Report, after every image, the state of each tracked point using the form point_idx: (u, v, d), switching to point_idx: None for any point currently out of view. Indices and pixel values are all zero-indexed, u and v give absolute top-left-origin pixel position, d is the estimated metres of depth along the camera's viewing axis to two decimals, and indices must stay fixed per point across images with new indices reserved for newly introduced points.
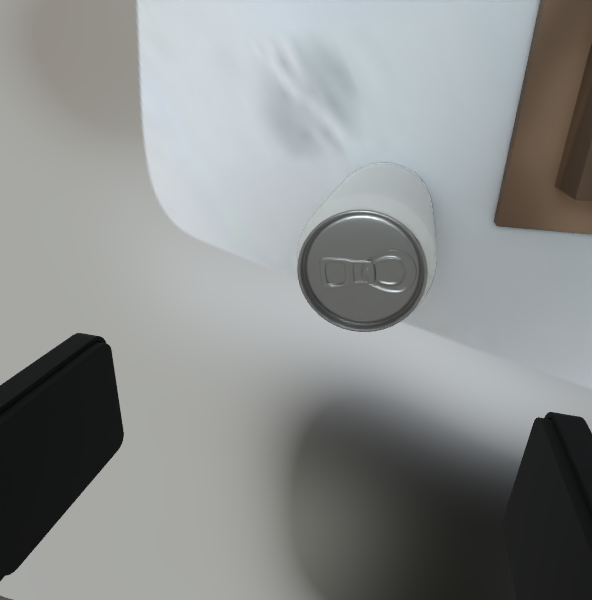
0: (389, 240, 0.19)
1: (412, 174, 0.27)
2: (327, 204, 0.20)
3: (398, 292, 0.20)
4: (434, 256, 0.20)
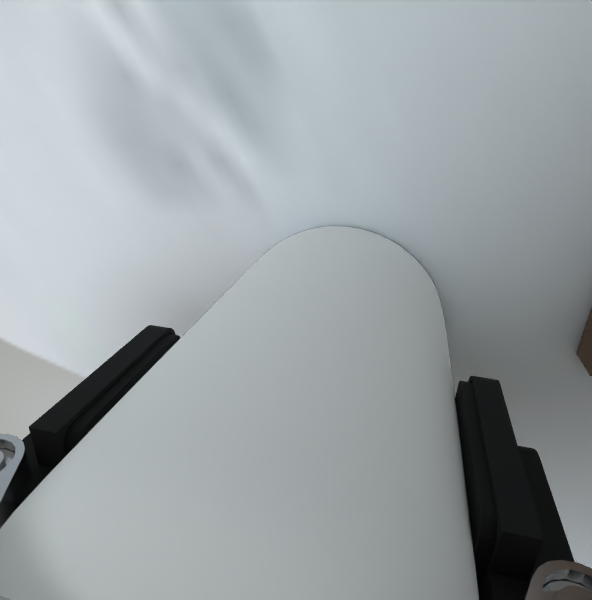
0: None
1: (401, 261, 0.12)
2: (33, 508, 0.05)
3: None
4: None
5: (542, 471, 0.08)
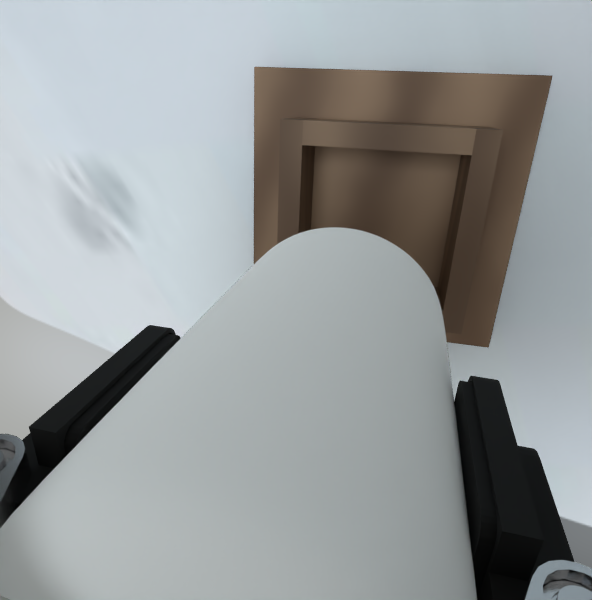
0: None
1: (400, 262, 0.12)
2: (29, 513, 0.05)
3: None
4: None
5: (541, 471, 0.08)
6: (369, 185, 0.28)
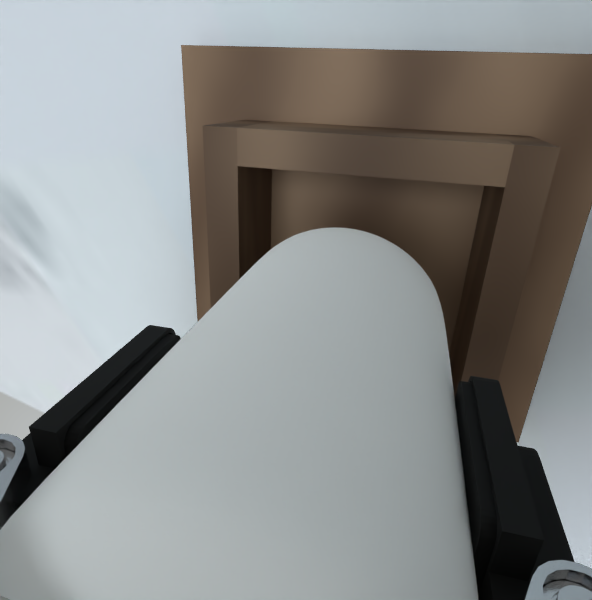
0: None
1: (401, 262, 0.12)
2: (29, 515, 0.05)
3: None
4: None
5: (541, 471, 0.08)
6: (349, 217, 0.19)
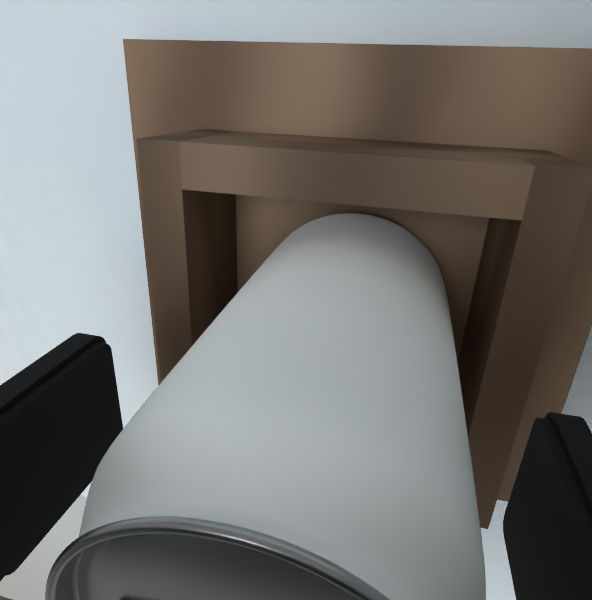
0: None
1: (407, 242, 0.13)
2: (141, 425, 0.07)
3: None
4: (482, 598, 0.06)
5: None
6: None
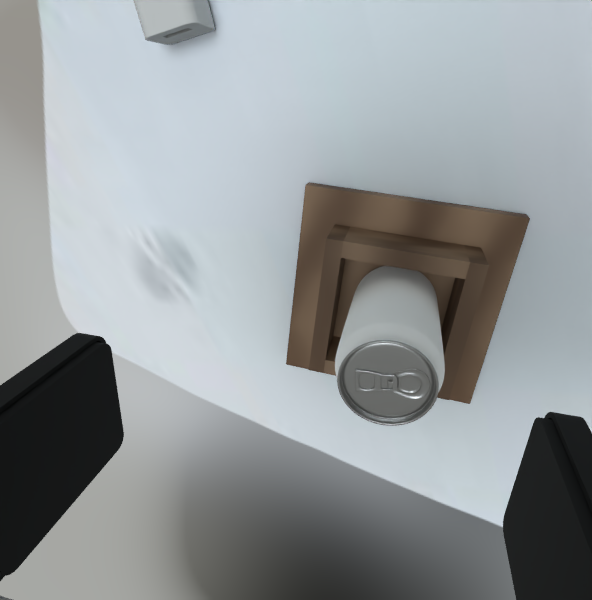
0: (410, 362, 0.25)
1: (422, 279, 0.33)
2: (362, 327, 0.26)
3: (415, 398, 0.26)
4: (443, 371, 0.26)
5: None
6: None
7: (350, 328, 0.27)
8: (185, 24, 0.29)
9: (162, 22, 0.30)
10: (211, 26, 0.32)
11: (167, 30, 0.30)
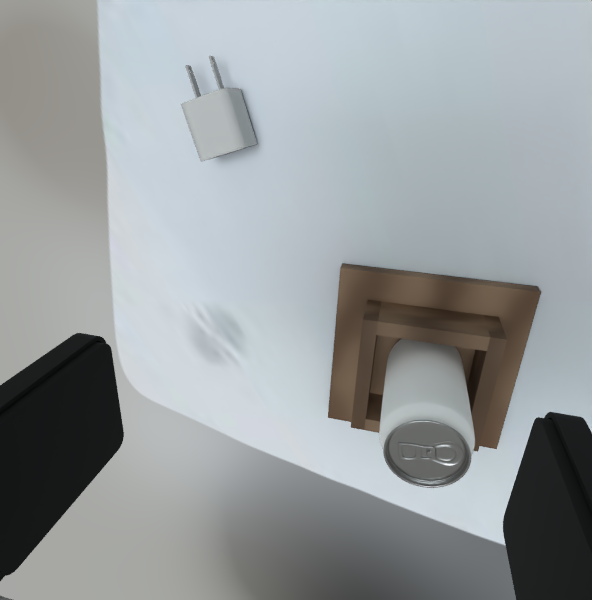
0: (445, 436, 0.30)
1: (448, 347, 0.38)
2: (402, 405, 0.31)
3: (451, 465, 0.31)
4: (473, 440, 0.31)
5: None
6: None
7: (391, 404, 0.32)
8: (235, 150, 0.35)
9: (215, 149, 0.35)
10: (254, 144, 0.37)
11: (220, 155, 0.35)
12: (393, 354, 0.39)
